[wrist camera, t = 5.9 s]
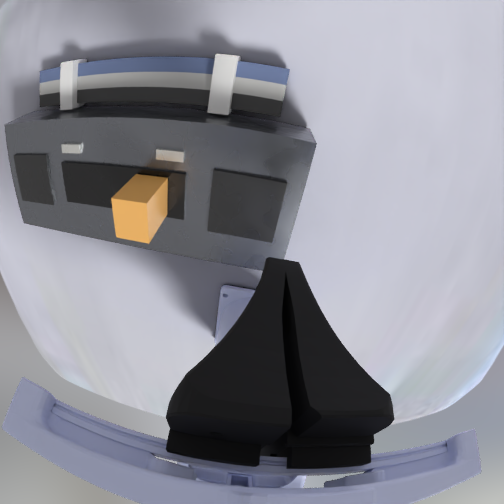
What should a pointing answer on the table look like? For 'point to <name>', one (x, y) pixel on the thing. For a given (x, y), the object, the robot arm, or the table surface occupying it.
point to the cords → (168, 83)
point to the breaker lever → (140, 207)
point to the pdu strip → (169, 166)
